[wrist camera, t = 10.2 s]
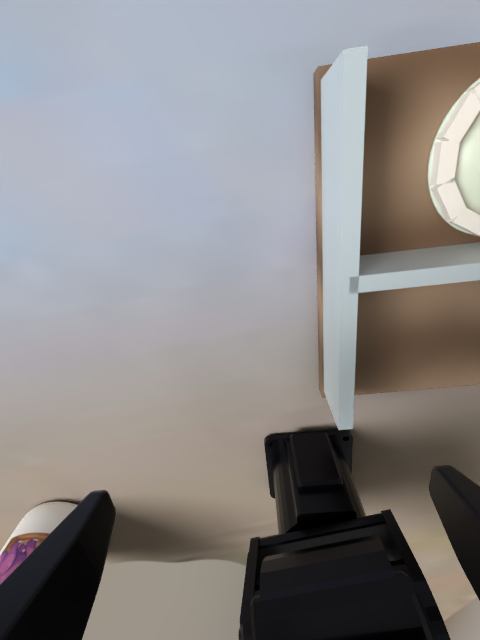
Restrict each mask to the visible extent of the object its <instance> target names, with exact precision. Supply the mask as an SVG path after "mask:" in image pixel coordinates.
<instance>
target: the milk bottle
mask: <svg viewBox="0 0 480 640" xmlns="http://www.w3.org/2000/svg"><path fill="white" fill-rule="evenodd" d="M77 506H78V505H77V504H73V503H68V502H48V503H43V504H41V505H38V506H36V507H35V508H33V509H32V510H30V511H29V512H28V513H27V514H26V515H25V516H24V517H23V519H22V520H21V522H20V523H19V524H18V526H17V527H16V529H15V530H14V532H13V533H12V535H11V536H10V538H9V539H8V541H7V542H6V544H5V545H4V547H3V548H2V550H1V551H0V584H1V583H2V582H3V581H4V580H5V579H6V578H7V577H8V576H9V575H10V574H11V573H12V572H13V571H14V570H15V569H16V568H17V567H18V566H19V565H20V564H21V563H22V562H23V561H24V560H25V559H26V557H27V556H28V555H29V554H30V553H31V552H32V551H33V550H34V549H35V548H36V547H37V546H38V545H39V544H40V543H41V542H42V541H43V540H44V539H45V538H46V537H47V536H48V535H49V534H50V533H51V532H52V531H53V530H54V529H55V528H56V527H57V526H58V525H59V524H60V523H61V522H62V521H63V520H64V519H65V518H66V517H67V516H68V515H69V514H70V513H71V512H72V511H73V510H74V509H75V508H76V507H77Z"/></svg>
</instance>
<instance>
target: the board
mask: <svg viewBox="0 0 480 640" xmlns="http://www.w3.org/2000/svg"><path fill="white" fill-rule="evenodd" d="M367 52H368V46H363V47H356V48H349V49H344V50H343V51H342V52H341V54H340V55H339V56H338V58H337V59H336V60H335V62H334V63H333V64H332V65H325V66H318V68H317V69H316V71H315V72H314V122H315V179H316V235H317V291H318V347H319V389H320V392H321V395H322V398H325V397H326V398H327V401H328V404H329V406H330V409H331V412H332V414H333V417H334V419H335V422H336V425H337V427H338V430H346V429H353V415H354V395H360V394H372V393H383V392H395V391H406V390H418V389H429V388H441V387H453V386H464V385H476V384H480V42H478V43H471V44H464V45H458V46H451V47H444V48H438V49H431V50H425V51H418V52H411V53H405V54H398V55H391V56H385V57H378V58H371V59H367Z"/></svg>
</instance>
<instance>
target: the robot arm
mask: <svg viewBox="0 0 480 640" xmlns="http://www.w3.org/2000/svg"><path fill="white" fill-rule="evenodd" d="M344 436H346V437H344ZM269 442H273V443H269ZM352 443H353V437H352V434H351V432H350V431H349V430H332V431H319V432H307V433H294V434H282V435H270V436H267V437H266V438H265V439H264V444H265V453H266V462H267V470H268V479H269V488H270V495H271V497H272V498H275V500H276V510H277V520H278V530H279V534H278V535H273V536H268V537H264V538H260V537H255V538H251V541H250V549H249V552H248V557H247V565H246V575H245V582H244V591H243V599H242V607H241V615H240V629H239V640H450V637H449V634H448V632H447V629H446V627H445V624H444V621H443V619H442V616H441V614H440V611H439V609H438V606H437V604H436V602H435V599H434V597H433V595H432V592H431V590H430V588H429V586H428V584H427V581H426V579H425V577H424V575H423V573H422V571H421V569H420V567H419V565H418V563H417V561H416V559H415V557H414V555H413V553H412V551H411V549H410V547H409V545H408V543H407V541H406V539H405V537H404V536H403V534H402V532H401V530H400V528H399V526H398V524H397V522H396V520H395V518H394V516H393V514H392V512H391V510H390V509H389V510H385V511H381V513H379V514H374V515H369V516H366V514H365V512H364V509H363V506H362V503H361V501H360V498H359V495H358V492H357V490H356V487H355V484H354V481H353V479H352V476H351V469H352ZM429 491H430V495H431V498H432V500H433V503H434V505H435V507H436V510H437V512H438V514H439V517H440V519H441V521H442V524H443V526H444V528H445V531H446V533H447V535H448V538H449V540H450V542H451V545H452V547H453V549H454V551H455V554H456V556H457V558H458V560H459V562H460V564H461V566H462V568H463V570H464V572H465V574H466V576H467V578H468V580H469V581H470V583H471V585H472V587H473V589H474V591H475V593H476V594H477V596H478V598H479V600H480V486H478V485H477V484H476V483H474V482H473V481H472V480H470V479H469V478H467V477H466V476H465V475H463V474H462V473H460V472H459V471H458V470H456V469H455V468H453V467H452V466H449V465H444V466H435V467H434V468H433V469H432V474H431V479H430V484H429ZM115 514H116V512H115V507H114V505H113V502H112V500H111V498H110V495H109V493H108V492H107V491H106V490H99V491H93V492H91V493H89V494H88V495H87V496H86V497H85V498H84V499H83V500H82V501H81V503H80V504H79V505H78V506H77V507H76V508H75V509H74V510H73V511H72V512H71V513H70V514H69V515H68V516H67V517H66V518H65V519H64V520H63V521H62V522H61V523H60V524H59V525H58V526H57V527H56V528H55V529H54V530H53V531H52V532H51V533H50V534H49V535H48V536H47V537H46V538H45V539H44V540H43V541H42V542H41V543H40V544H39V545H38V546H37V547H36V548H35V549H34V550H33V551H32V552H31V553H30V554H29V555H28V556H27V557H26V559H25V560H24V561H23V562H22V563H21V564H20V565H19V566H18V567H17V568H16V569H15V570H14V571H13V572H12V573H11V574H10V575H9V576H8V577H7V578H6V579H5V580H4V581H3V582H2V583H1V584H0V640H82V638H83V634H84V631H85V628H86V625H87V622H88V619H89V616H90V612H91V609H92V606H93V603H94V600H95V597H96V594H97V591H98V587H99V584H100V581H101V577H102V573H103V569H104V564H105V560H106V556H107V551H108V547H109V542H110V538H111V534H112V529H113V525H114V520H115Z"/></svg>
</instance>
